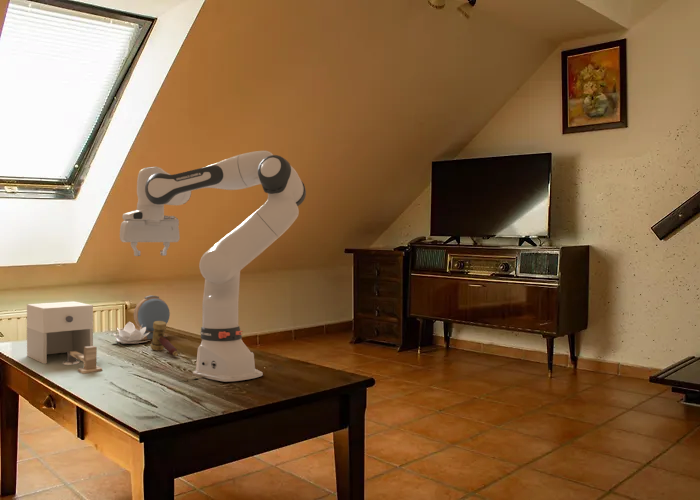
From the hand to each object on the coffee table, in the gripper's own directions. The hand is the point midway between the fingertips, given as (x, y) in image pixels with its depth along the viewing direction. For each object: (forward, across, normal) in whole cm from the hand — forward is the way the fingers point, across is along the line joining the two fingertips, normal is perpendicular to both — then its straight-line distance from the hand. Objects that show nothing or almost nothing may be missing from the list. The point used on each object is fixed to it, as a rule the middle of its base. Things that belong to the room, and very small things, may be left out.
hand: (150, 255), depth 217 cm
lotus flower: (+35, -7, -33) cm, 49 cm away
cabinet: (+35, +22, -23) cm, 48 cm away
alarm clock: (+35, -19, -40) cm, 57 cm away
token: (+36, +23, -9) cm, 44 cm away
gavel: (+37, -8, -6) cm, 38 cm away
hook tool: (+35, +23, +8) cm, 43 cm away
